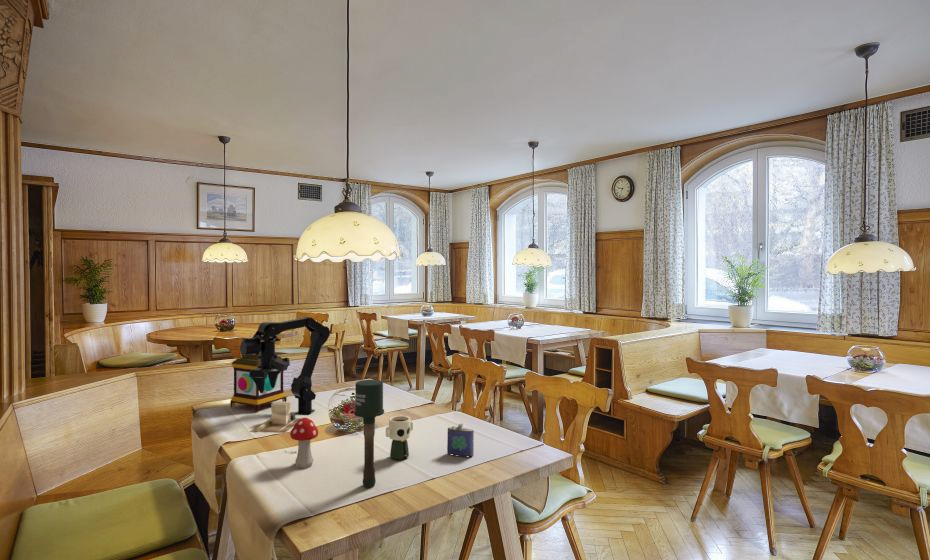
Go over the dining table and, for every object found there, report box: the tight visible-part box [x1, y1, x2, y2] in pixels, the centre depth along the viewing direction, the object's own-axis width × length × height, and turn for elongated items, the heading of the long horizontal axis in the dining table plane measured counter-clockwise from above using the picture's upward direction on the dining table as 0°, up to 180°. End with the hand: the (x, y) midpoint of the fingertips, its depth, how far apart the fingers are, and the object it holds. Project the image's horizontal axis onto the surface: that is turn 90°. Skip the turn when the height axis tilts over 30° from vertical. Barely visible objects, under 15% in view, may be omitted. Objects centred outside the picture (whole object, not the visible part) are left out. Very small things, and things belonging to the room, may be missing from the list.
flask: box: [446, 423, 475, 457], centre depth 162 cm, size 9×3×11 cm, turn 74°
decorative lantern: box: [230, 352, 287, 413], centre depth 222 cm, size 20×20×30 cm
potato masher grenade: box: [353, 379, 385, 489], centre depth 138 cm, size 8×9×30 cm
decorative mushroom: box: [289, 417, 319, 469], centre depth 153 cm, size 10×9×15 cm
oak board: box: [248, 413, 302, 434], centre depth 191 cm, size 18×14×3 cm
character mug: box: [385, 415, 414, 460], centre depth 160 cm, size 11×7×13 cm, turn 133°
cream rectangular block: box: [270, 401, 291, 425], centre depth 193 cm, size 4×7×8 cm, turn 85°
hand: (267, 390), depth 198 cm, fingers open, 9 cm apart
